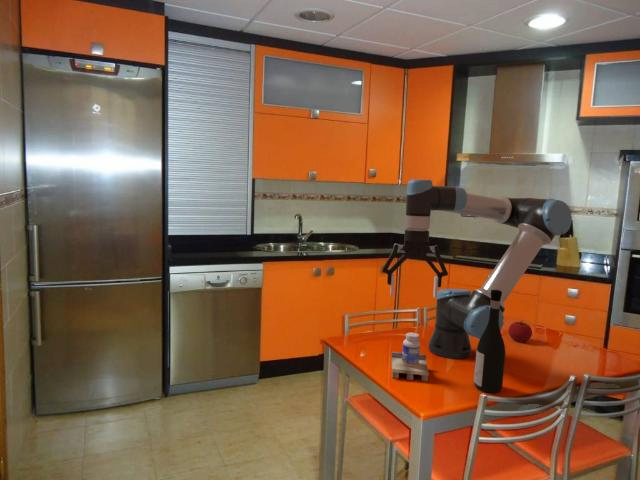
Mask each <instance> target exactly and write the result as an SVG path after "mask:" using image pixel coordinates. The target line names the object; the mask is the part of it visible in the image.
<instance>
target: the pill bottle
mask: <svg viewBox="0 0 640 480" xmlns="http://www.w3.org/2000/svg"><path fill="white" fill-rule="evenodd" d="M420 352H421V341H420V335H419V334H418V333H415V332H407V333H406V334H405V339H404V340H403V342H402V352H401V353H402V364H404V365H406V366H410V367H416V366H418V364H419V354H421V353H420Z"/></svg>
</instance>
